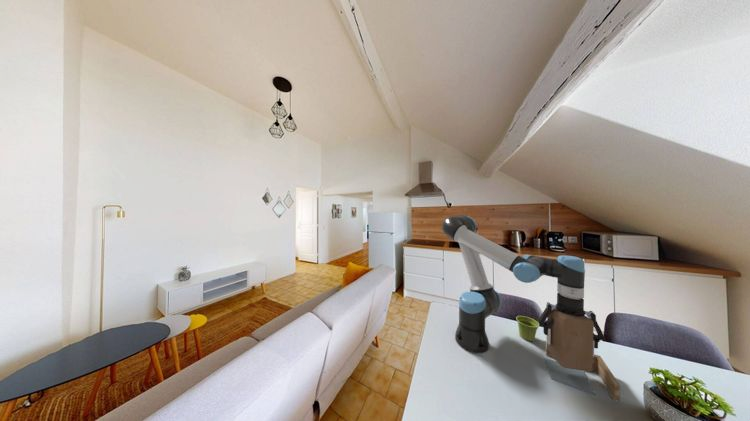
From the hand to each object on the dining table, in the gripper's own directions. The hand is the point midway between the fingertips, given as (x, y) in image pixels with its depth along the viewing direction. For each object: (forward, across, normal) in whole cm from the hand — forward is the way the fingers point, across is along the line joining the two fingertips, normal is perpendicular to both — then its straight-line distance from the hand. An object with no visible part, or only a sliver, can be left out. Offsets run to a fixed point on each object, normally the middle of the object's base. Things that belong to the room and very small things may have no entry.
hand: (568, 348), depth 78 cm
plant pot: (+11, -11, +19) cm, 25 cm away
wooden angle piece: (+11, +3, +3) cm, 12 cm away
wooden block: (+5, 0, 0) cm, 5 cm away
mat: (+11, 0, 0) cm, 11 cm away
